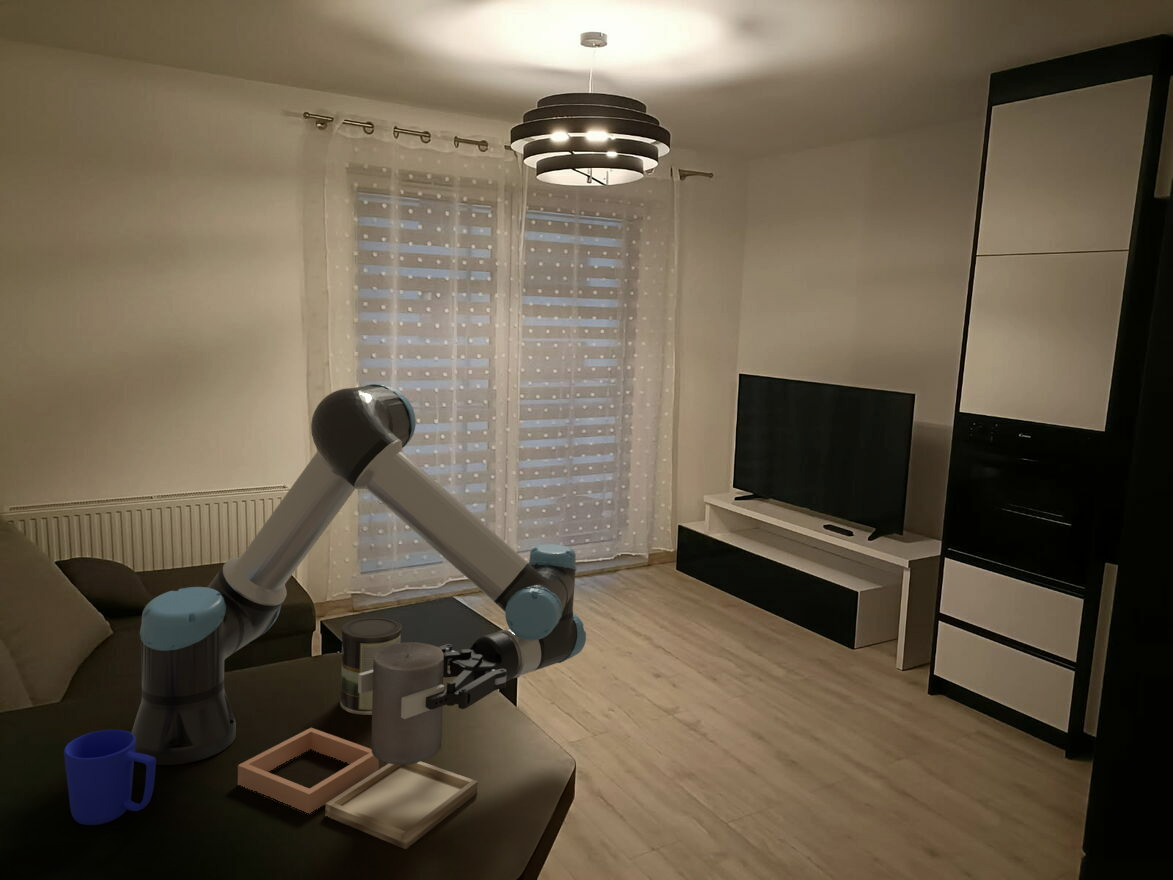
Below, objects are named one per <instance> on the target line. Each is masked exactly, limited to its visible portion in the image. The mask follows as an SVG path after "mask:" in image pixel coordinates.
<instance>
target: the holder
mask: <svg viewBox="0 0 1173 880" xmlns="http://www.w3.org/2000/svg"><path fill="white" fill-rule="evenodd" d="M310 749H312V750H310ZM308 750H309V751H313V750H314V752H315V751H316V753H318V752H319V754H320V755H323V754H324V756H326V755H327V756H326V757H329V756H330V757H329V758H331V757H333V758H332V759H334V758H336V759H335V760H337V759H338V760H337V761H339V760H341V761H340V762H342V761H343V762H342V763H345V762H347V763H346V764H349V765H347V766H345V767H344V768H342V769H340V770H338V771H337V772H335V773H333V774H331V775H330V776H329V777H327V778H325V779H323V780H322V781H319V782H318V783H316V784H314V785H313V786H312V787H310V788H309V787H306V786H304V785H302V784H299V783H296V782H294V781H292V780H289V779H286V778H284V777H281V776H280V775H276V774H273V773H271V772H272V771H271V770H273V769H274V768H276V767H277V766H279V765H281V764H283V763H285V762H286V761H289V760H290V759H293V758H294V757H296V758H298V757H300V756H302V755H303V754H302V753H304V752H306V751H307V752H309V751H308ZM307 752H306V753H307ZM301 754H302V755H301ZM304 754H305V753H304ZM299 755H300V756H299ZM297 756H298V757H297ZM293 760H294V759H293ZM289 762H290V761H289ZM285 764H286V763H285ZM379 767H380V760H379V759H377V758H376V757H375V756H374V755H373V753H372V749H371V748H369V747H366V746H364V745H361V744H359V743H355V742H353V741H350V740H347V739H344V738H341V737H339V736H336V735H334V734H330V733H327V732H325V731H322V730H319V729H316V728H313V727H310V728H308V729H305V730H304V731H301V732H300V733H298V734H296V735H294V736H292V737H290V738H288V739H285V740H284V741H282V742H280V743H279V744H276V745H274V746H273V747H270V748H268V749H267V750H264V751H262V752H261V753H259V754H257V755H255V756H253V757H251V758H249V759H247V760H245V761H244V762H241V763H240V764H238V765H237V786H239V785H241V786H240V787H242V786H243V788H244V787H245V789H247V788H248V789H247V790H249V789H250V790H249V791H251V790H253V791H252V792H254V791H257V792H258V793H261V794H264V795H266V796H270V797H271V798H274V799H276V800H278V801H280V802H283V803H285V804H288V805H291V806H292V807H295V808H297V809H299V810H302V811H304V812H306V813H309V814H310V813H311V812H313V811H314V810H316V809H317V810H319V809H320V807H321V806H322V807H324V806H325V804H326V803H327V802H329V801H330V800H332V799H333V798H335V797H337V796H338V795H340V794H341V793H343V792H344V791H346V790H348V789H349V788H351V787H352V786H354V785H356V784H357V783H359V782H360V781H362V780H363V779H365V778H367V777H368V776H370V775H371V774H373V773H374V772H376V771H378V770H379V769H380V768H379ZM276 769H277V768H276ZM274 770H275V769H274ZM274 770H273V771H274ZM269 771H271V772H269ZM258 793H257V794H258ZM261 794H260V795H261ZM266 796H265V797H266ZM280 802H279V803H280ZM285 804H284V805H285ZM323 805H324V806H323ZM292 807H291V808H292ZM322 807H321V808H322ZM318 808H319V809H318ZM299 810H298V811H299ZM317 810H316V811H317ZM314 812H315V811H314ZM314 812H313V813H314ZM306 813H305V814H306ZM311 814H312V813H311ZM311 814H310V815H311Z"/></svg>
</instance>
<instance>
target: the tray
mask: <svg viewBox="0 0 1173 880" xmlns="http://www.w3.org/2000/svg"><path fill="white" fill-rule="evenodd" d="M478 783H479V782H478V781H477V780H475V779H473V778H469V777H467V776H463V775H460V774H458V773H455V772H452V771H451V770H450V771H449V770H446V769H443V768H441V767H438V766H435V765H432V764H429V763H427V762H423V761H420V762H418V763H415V764H410V765H405V764H404V765H397V764H390V763H386V765H384V766H382V767H380V768H379V770H378V771H376V772H374V773H373V774H371V775H370V776H368V777H367V778H365V779H363V780H362V781H360V782H359V783H357V784H356V785H354V786H352V787H351V788H349V789H348V790H346V791H344V792H343V793H341V794H340V795H338V796H337V797H335V798H333V799H332V800H330V801H329V802H327V803H326V804H325V805H324V807H325V808H324V809H325V810H324V813H325V814H324V815H325V817H327V816H328V817H327V818H329V817H330V818H329V819H332V820H335V821H337V822H339V823H341V824H344V825H346V826H349V827H351V828H354V829H355V830H358V831H360V832H363V833H365V834H367V835H370V836H373V837H375V838H377V839H380V840H382V841H385V842H387V843H389V844H392V845H394V846H396V847H398V848H402V849H404V850H407V849H409V848H410V847H411V846H412V845H414V844H415V843H416V842H417V841H418V840H419V839H421V838H422V837H424V836H425V835H426V834H427V833H429V832H430V831H431V830H432V829H434V828H435V827H437V825H439V824H440V823H441V822H443V821H444V820H445V819H446V818H448V816H450V815H452V814H453V813H454V812H456V810H458V809H459V808H460V807H462V805H464V804H465V803H466V802H468V801H469V800H470V799H471V798H473V797H474V796H475V795H476V794H478V787H479V786H478ZM457 808H458V809H457Z"/></svg>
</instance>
